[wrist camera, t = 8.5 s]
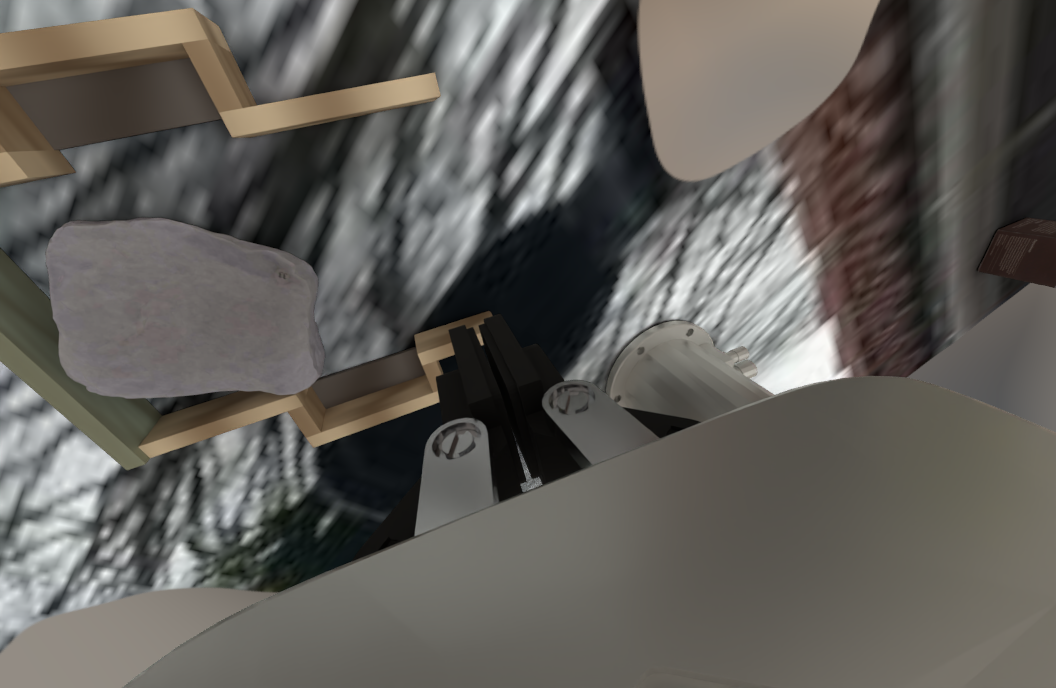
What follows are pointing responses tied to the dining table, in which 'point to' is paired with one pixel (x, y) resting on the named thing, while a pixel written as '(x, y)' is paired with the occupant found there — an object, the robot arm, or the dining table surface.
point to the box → (1024, 252)
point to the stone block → (180, 311)
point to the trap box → (155, 105)
